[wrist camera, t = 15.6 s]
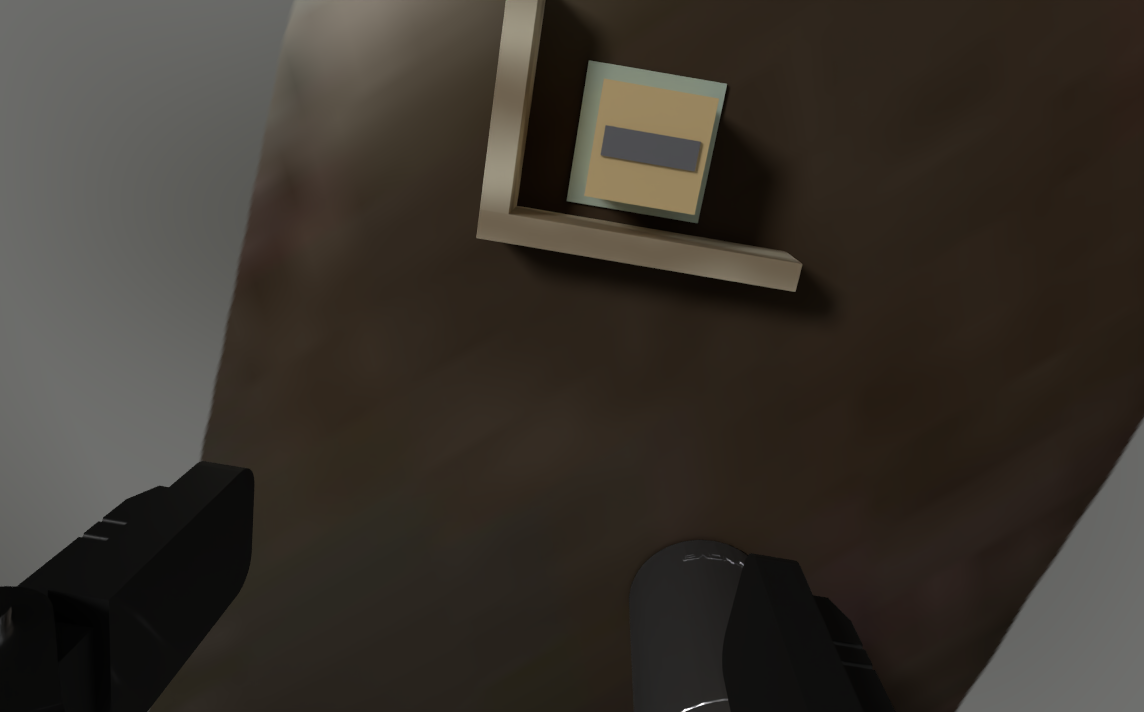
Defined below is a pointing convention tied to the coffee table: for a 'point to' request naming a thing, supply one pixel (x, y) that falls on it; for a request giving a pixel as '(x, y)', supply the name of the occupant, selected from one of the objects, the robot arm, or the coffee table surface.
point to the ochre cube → (650, 146)
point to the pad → (589, 119)
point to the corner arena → (581, 233)
